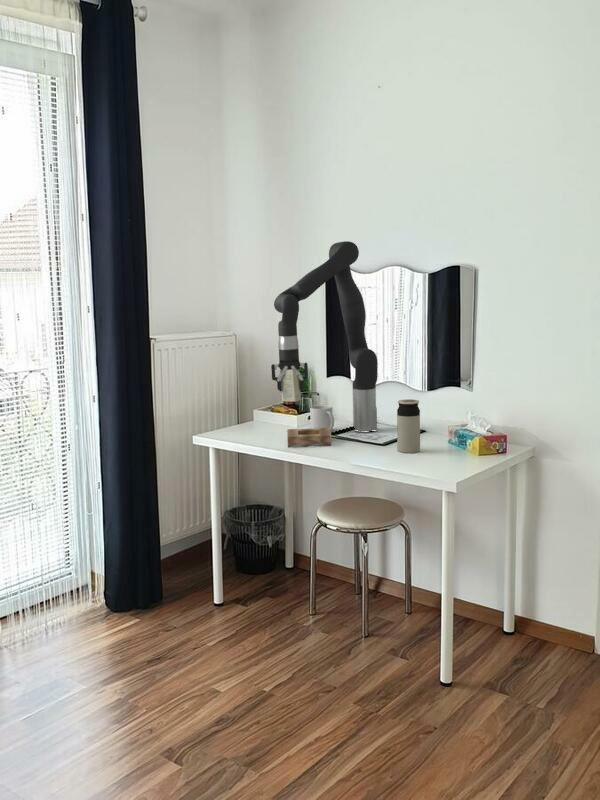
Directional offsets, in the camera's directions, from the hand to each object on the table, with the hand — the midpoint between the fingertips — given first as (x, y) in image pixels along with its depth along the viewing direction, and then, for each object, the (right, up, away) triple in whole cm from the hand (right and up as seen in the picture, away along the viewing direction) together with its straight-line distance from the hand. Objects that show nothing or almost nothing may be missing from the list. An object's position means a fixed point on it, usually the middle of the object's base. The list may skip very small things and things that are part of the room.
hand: (290, 390), depth 305 cm
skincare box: (0, -4, +1) cm, 4 cm away
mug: (+13, -17, +17) cm, 27 cm away
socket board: (+7, -20, -2) cm, 21 cm away
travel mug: (+42, -22, -20) cm, 52 cm away
